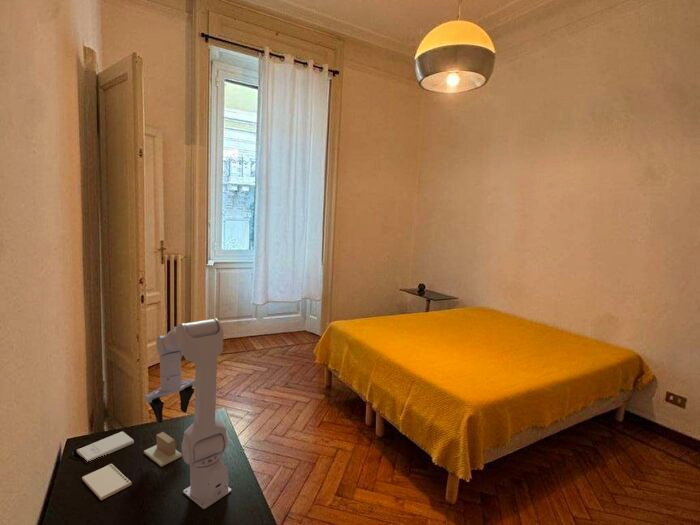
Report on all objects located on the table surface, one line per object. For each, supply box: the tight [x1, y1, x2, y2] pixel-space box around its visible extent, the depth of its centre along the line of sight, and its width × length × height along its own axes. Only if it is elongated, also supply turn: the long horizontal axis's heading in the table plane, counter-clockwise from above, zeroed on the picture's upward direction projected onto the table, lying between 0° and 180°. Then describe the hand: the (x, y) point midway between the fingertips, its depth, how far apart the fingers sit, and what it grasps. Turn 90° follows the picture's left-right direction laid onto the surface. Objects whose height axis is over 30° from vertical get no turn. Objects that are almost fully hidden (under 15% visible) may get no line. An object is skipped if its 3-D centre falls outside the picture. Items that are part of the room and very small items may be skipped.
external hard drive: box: [76, 430, 135, 463], centre depth 113 cm, size 2×8×12 cm
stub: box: [143, 431, 183, 467], centre depth 109 cm, size 10×6×5 cm, turn 54°
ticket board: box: [81, 463, 132, 501], centre depth 98 cm, size 12×7×1 cm, turn 54°
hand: (171, 416), depth 114 cm, fingers open, 7 cm apart
